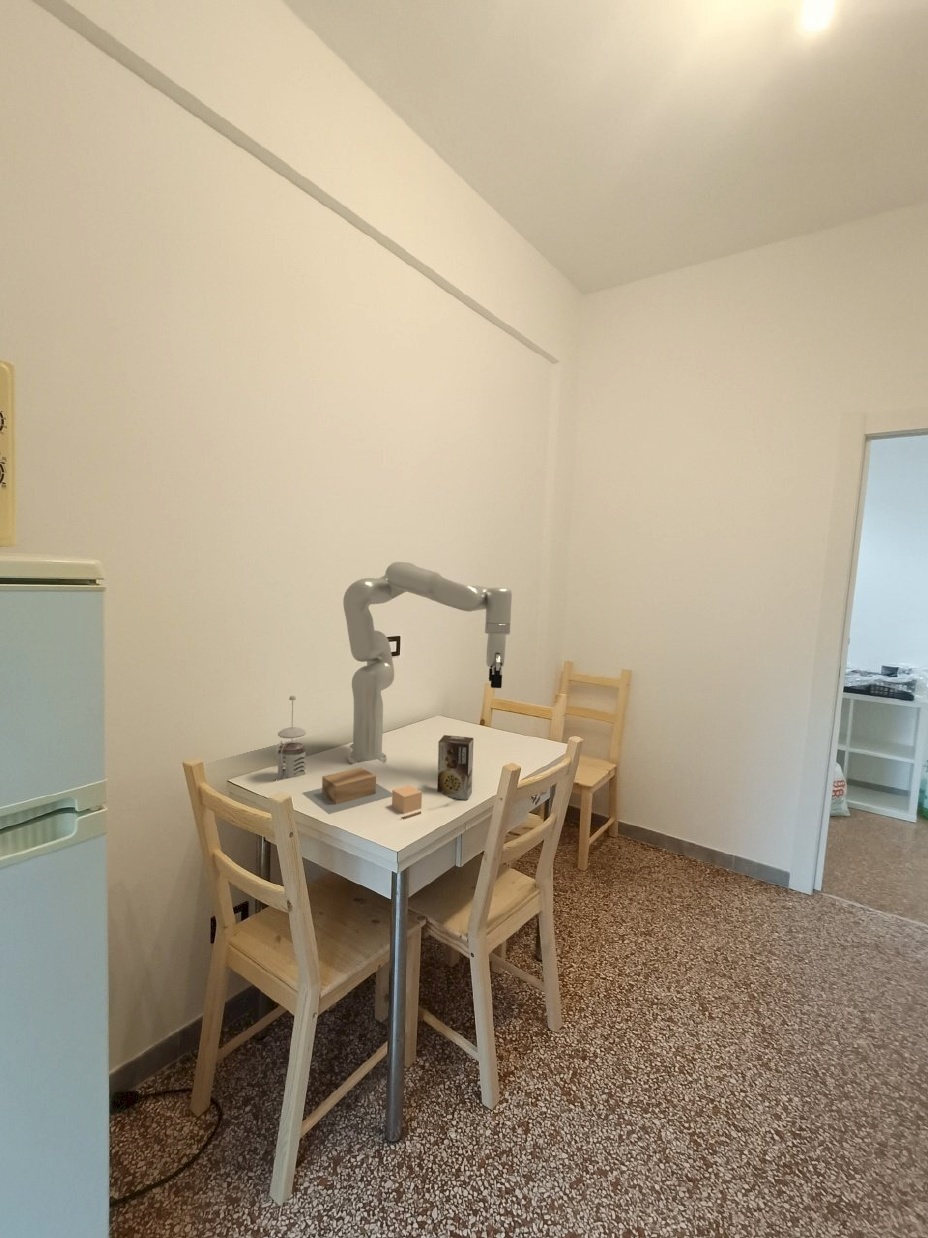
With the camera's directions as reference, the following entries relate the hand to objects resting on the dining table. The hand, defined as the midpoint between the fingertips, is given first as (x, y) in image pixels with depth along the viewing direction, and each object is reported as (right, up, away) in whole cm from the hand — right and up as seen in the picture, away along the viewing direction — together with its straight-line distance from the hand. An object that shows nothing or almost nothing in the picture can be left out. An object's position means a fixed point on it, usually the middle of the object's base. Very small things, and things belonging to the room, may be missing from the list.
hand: (494, 684), depth 166 cm
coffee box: (-12, -30, -10) cm, 34 cm away
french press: (-61, -28, -4) cm, 67 cm away
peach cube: (-25, -31, -24) cm, 46 cm away
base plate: (-41, -30, -17) cm, 53 cm away
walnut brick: (-41, -28, -17) cm, 52 cm away
